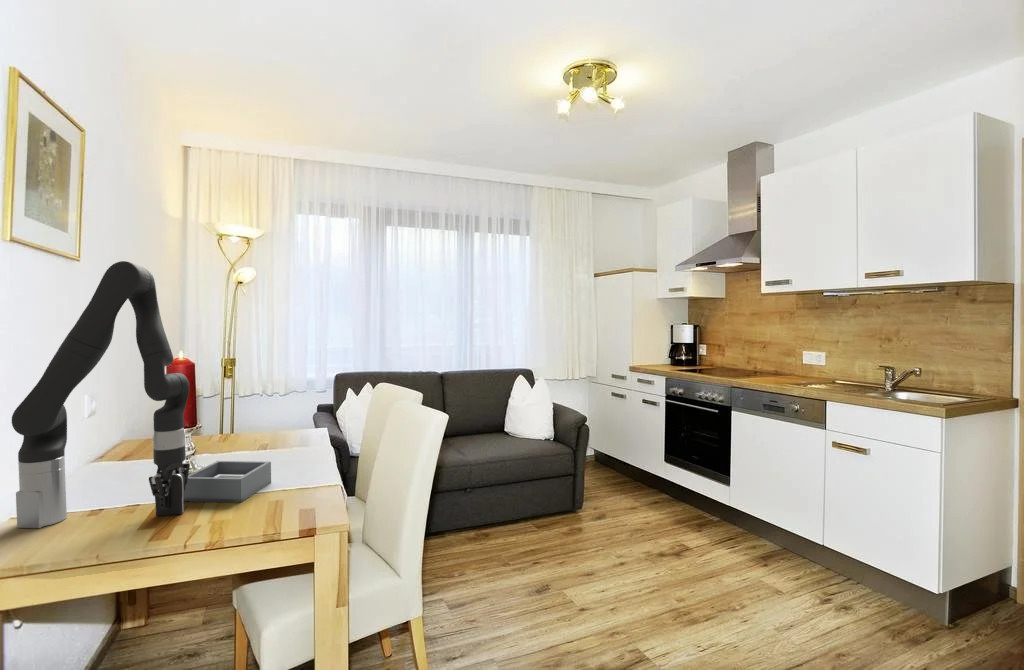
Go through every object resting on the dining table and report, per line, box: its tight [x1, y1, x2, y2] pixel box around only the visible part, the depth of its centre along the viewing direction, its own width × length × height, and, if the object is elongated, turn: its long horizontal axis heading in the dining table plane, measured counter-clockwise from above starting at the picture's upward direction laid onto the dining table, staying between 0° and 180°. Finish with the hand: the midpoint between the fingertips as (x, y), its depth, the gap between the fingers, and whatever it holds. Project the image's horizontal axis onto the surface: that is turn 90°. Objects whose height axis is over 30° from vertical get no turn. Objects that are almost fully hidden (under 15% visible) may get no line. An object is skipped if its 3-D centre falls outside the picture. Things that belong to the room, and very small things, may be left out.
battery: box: [154, 473, 185, 517], centre depth 146 cm, size 7×4×11 cm, turn 103°
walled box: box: [184, 460, 272, 503], centre depth 164 cm, size 18×18×7 cm
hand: (171, 505), depth 146 cm, fingers closed on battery, 4 cm apart
